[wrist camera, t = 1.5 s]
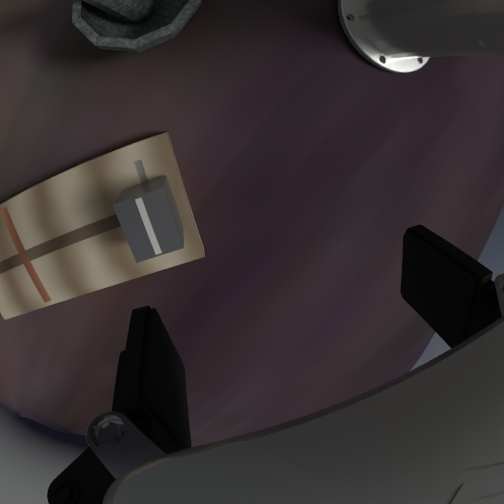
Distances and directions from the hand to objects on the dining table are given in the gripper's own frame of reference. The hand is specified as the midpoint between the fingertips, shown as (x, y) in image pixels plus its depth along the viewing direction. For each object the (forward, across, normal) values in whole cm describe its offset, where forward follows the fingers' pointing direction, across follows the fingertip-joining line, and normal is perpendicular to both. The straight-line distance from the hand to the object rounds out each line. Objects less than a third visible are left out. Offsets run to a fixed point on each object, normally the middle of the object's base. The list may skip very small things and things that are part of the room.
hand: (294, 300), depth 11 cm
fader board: (+20, +17, +1) cm, 26 cm away
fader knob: (+18, +7, 0) cm, 19 cm away
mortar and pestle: (+21, +4, -18) cm, 27 cm away
